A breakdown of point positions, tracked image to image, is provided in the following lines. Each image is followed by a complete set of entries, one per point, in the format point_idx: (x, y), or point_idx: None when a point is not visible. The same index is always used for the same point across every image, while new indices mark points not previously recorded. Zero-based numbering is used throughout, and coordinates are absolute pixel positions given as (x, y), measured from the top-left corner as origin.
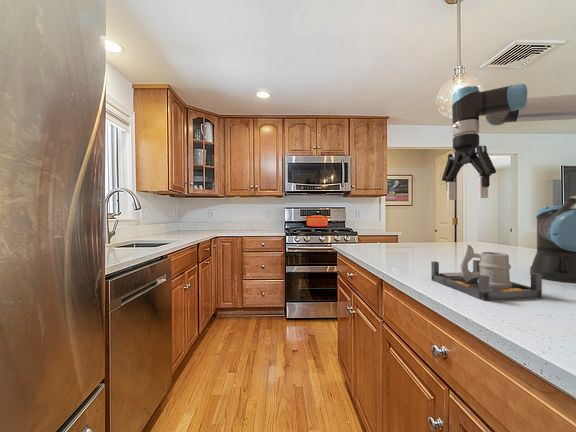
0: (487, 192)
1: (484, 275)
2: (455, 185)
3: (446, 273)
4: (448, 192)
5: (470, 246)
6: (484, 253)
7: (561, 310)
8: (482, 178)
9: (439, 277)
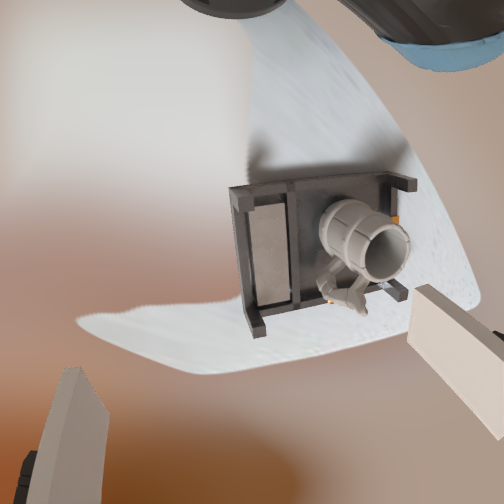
0: (452, 307)
1: (402, 294)
2: (50, 490)
3: (263, 293)
4: (99, 468)
5: (365, 307)
6: (363, 263)
7: (431, 199)
8: None
9: (277, 312)
